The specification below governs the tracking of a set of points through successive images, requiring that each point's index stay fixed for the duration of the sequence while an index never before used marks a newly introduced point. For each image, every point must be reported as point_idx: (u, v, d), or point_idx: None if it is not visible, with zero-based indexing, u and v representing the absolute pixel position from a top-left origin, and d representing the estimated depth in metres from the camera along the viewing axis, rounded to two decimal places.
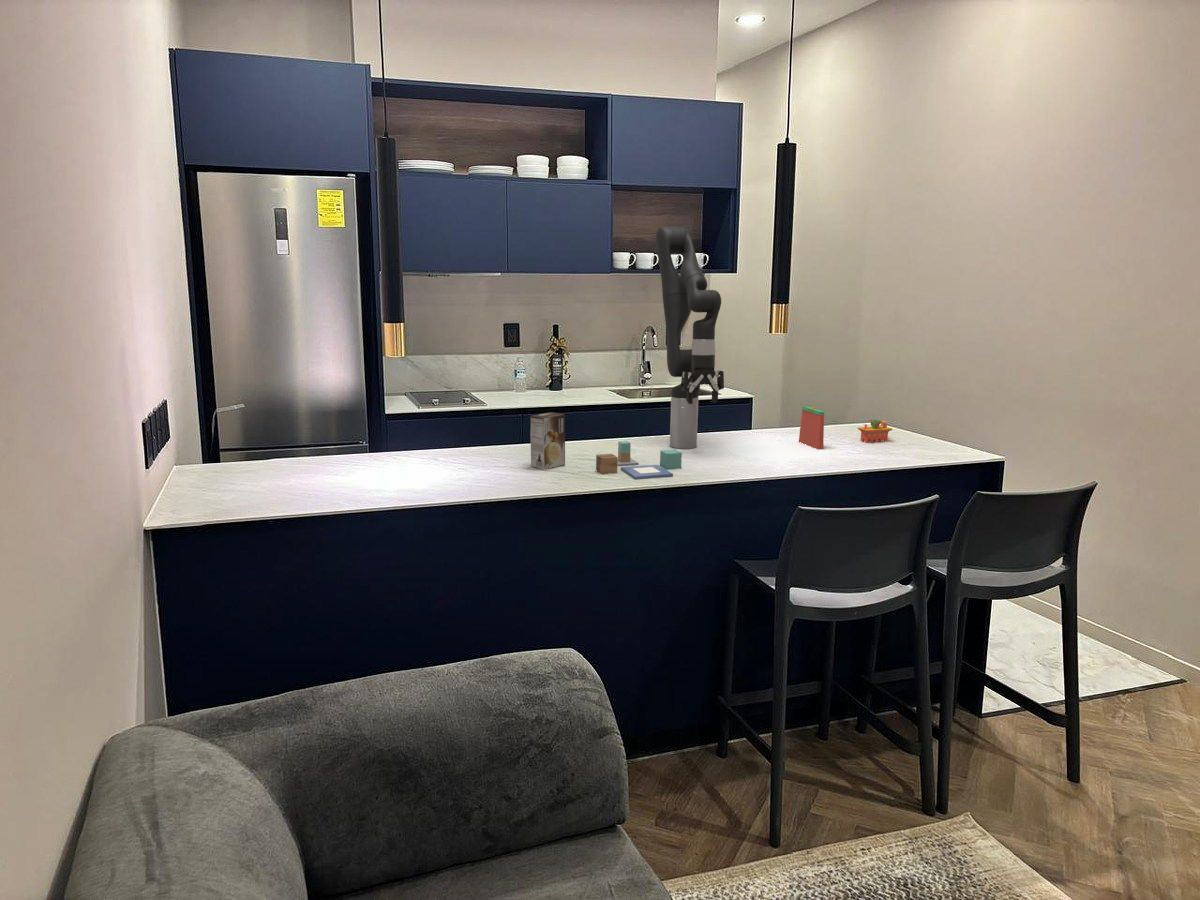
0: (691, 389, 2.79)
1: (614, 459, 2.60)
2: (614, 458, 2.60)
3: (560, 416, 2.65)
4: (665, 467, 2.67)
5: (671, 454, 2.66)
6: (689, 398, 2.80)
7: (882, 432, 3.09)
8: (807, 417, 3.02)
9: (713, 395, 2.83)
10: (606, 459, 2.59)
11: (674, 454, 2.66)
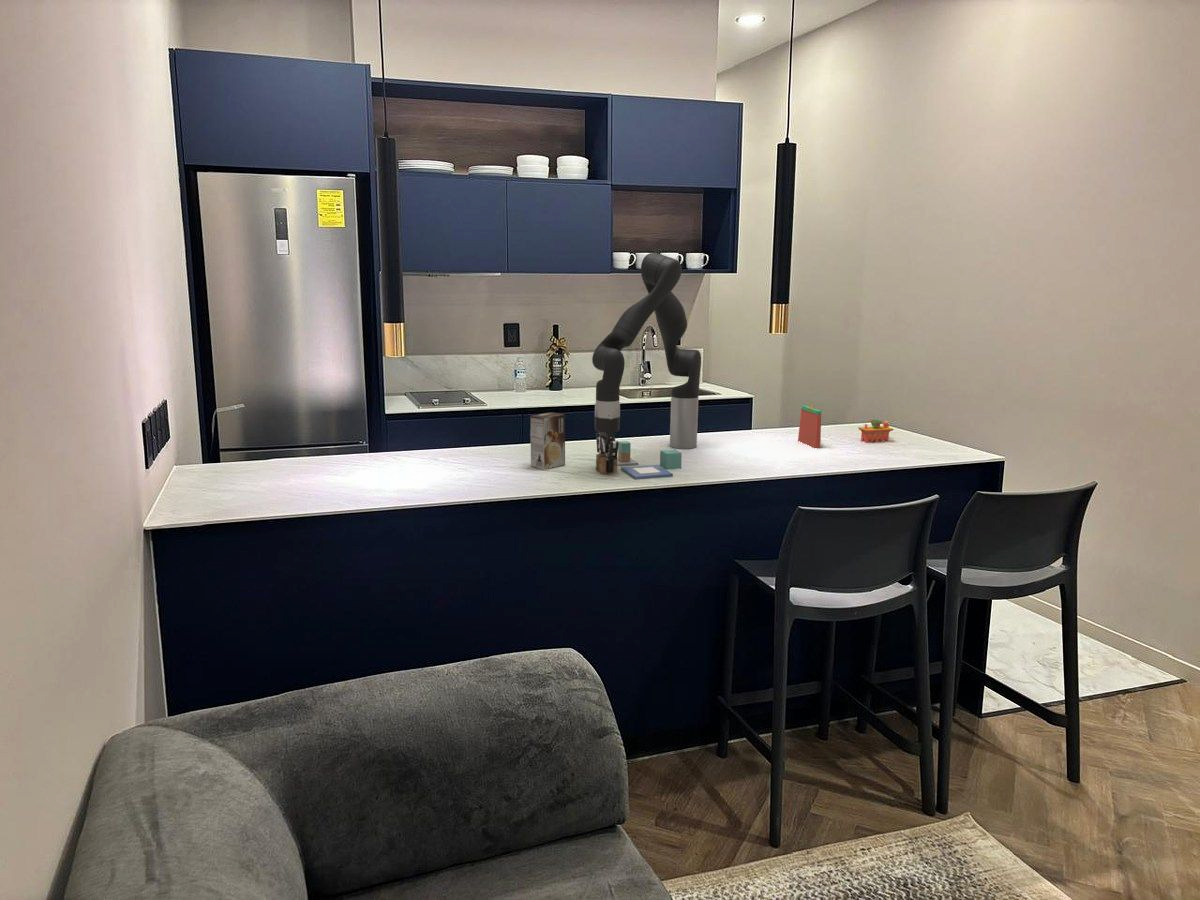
0: None
1: None
2: None
3: (560, 416, 2.65)
4: (665, 467, 2.67)
5: (671, 454, 2.66)
6: (612, 466, 2.60)
7: (883, 432, 3.09)
8: (806, 416, 3.03)
9: None
10: None
11: (674, 454, 2.66)
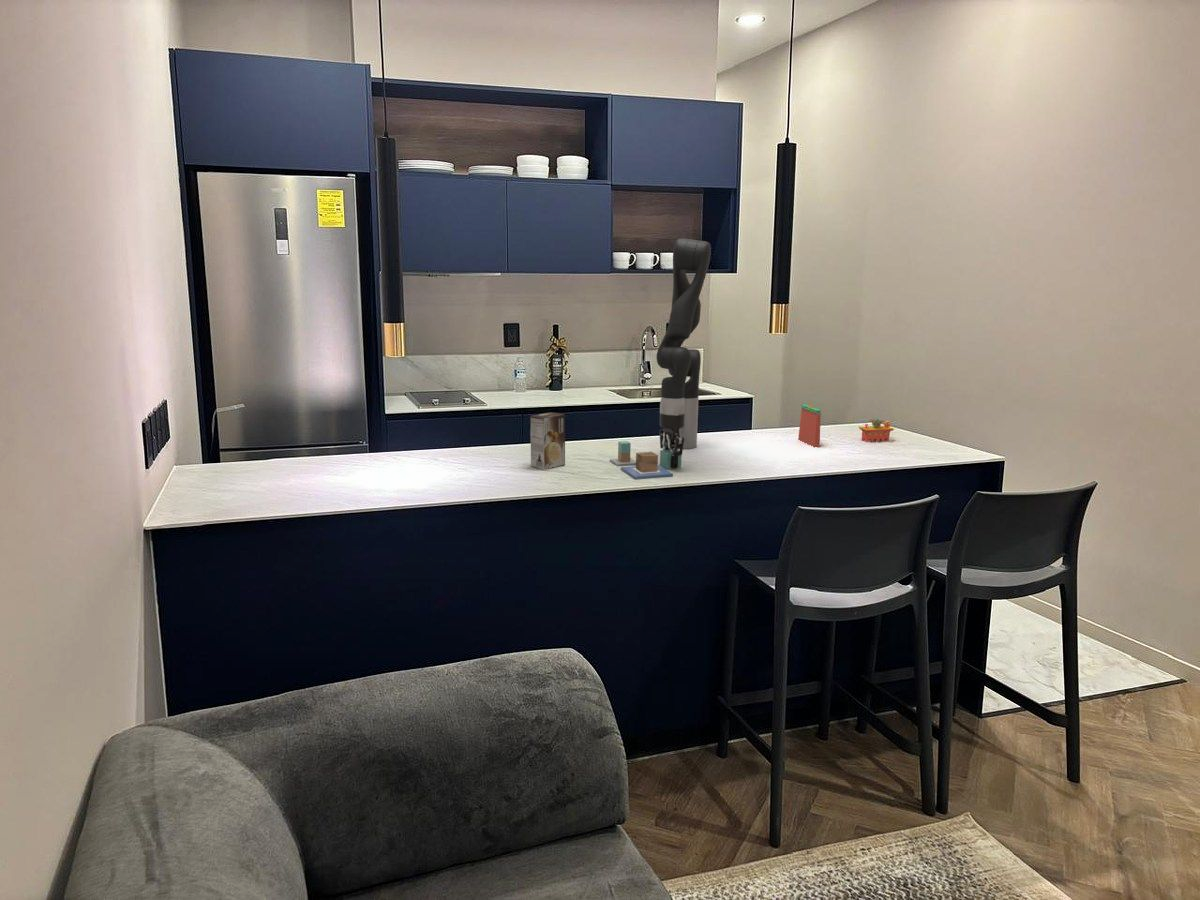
0: None
1: (655, 457, 2.59)
2: (655, 456, 2.59)
3: (560, 416, 2.65)
4: (665, 467, 2.67)
5: None
6: None
7: (883, 432, 3.10)
8: (806, 415, 3.05)
9: None
10: (647, 457, 2.58)
11: None
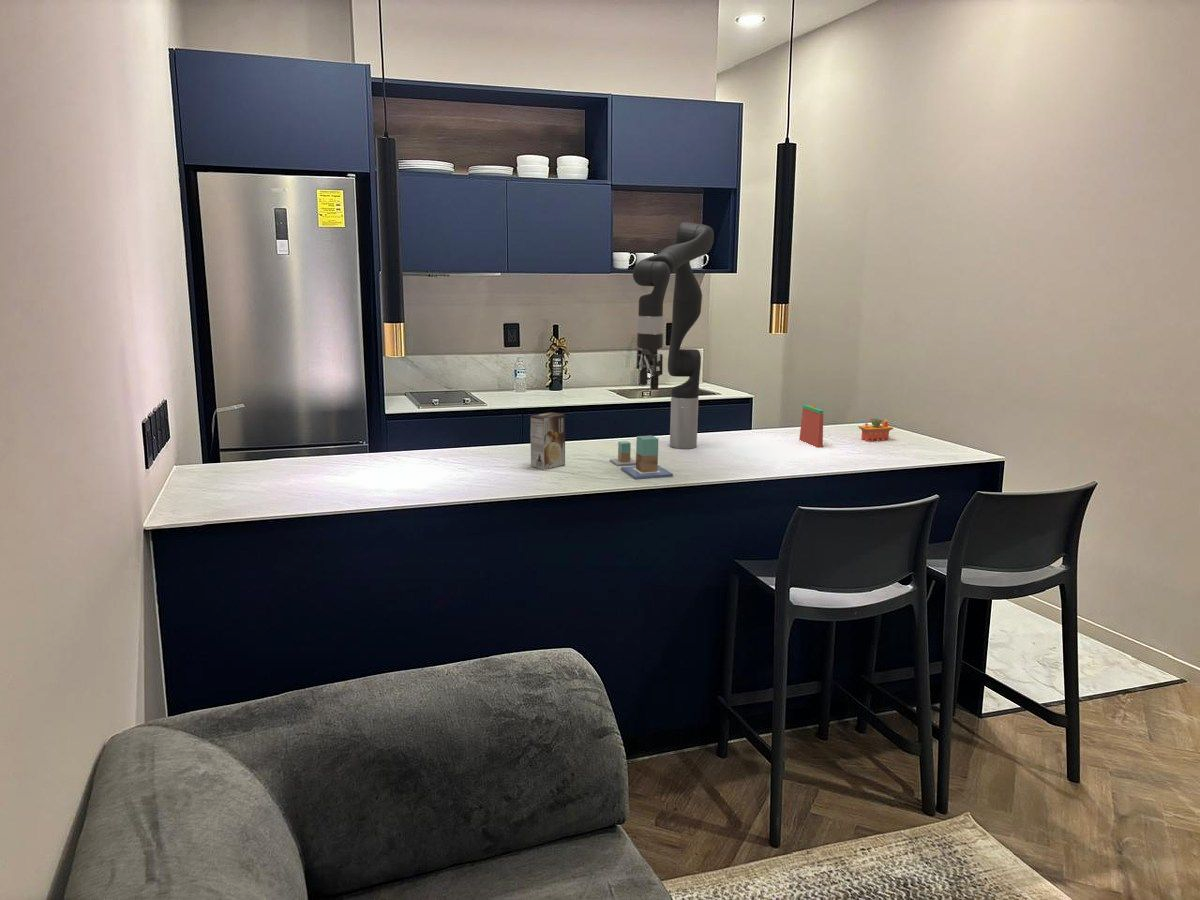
0: None
1: (655, 457, 2.59)
2: (655, 456, 2.59)
3: (560, 416, 2.65)
4: (641, 453, 2.58)
5: (647, 440, 2.57)
6: (657, 383, 2.51)
7: (883, 431, 3.11)
8: (808, 415, 3.05)
9: (644, 377, 2.59)
10: (647, 457, 2.58)
11: (650, 440, 2.57)
